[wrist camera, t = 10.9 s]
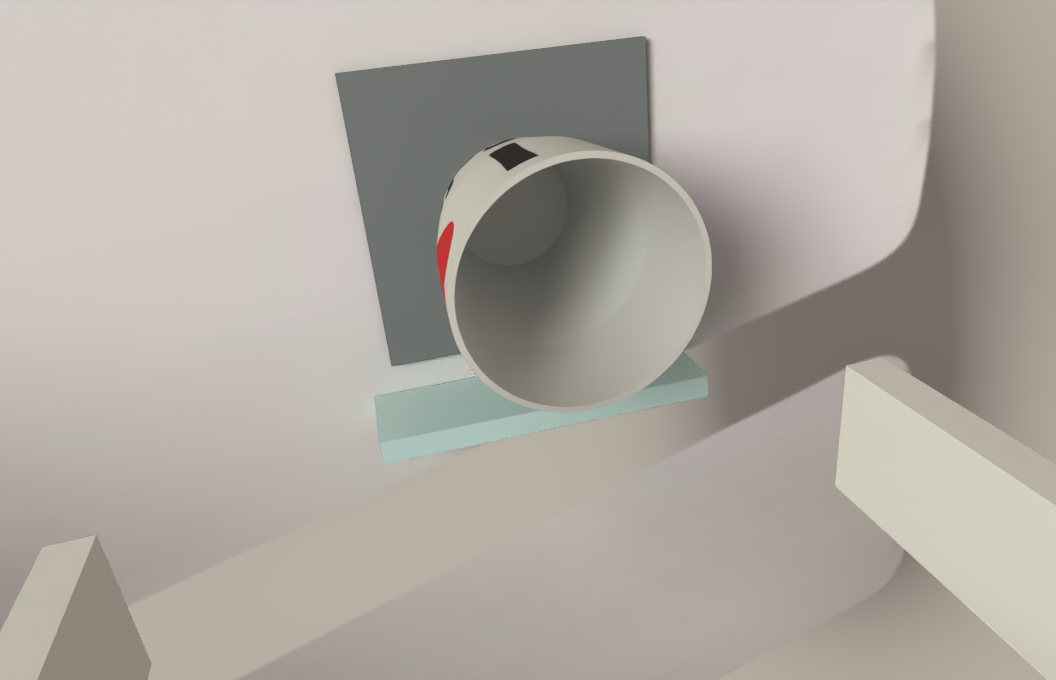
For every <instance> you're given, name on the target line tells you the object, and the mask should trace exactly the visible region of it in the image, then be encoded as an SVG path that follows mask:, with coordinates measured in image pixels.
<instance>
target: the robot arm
mask: <svg viewBox="0 0 1056 680" xmlns="http://www.w3.org/2000/svg"><path fill="white" fill-rule="evenodd" d="M835 486H836V487H837V488H838V489H839V490H840V491H841V492H842V493H844V494H845V495H846V496H847V497H848V498H849V499H850V500H851V501H852V502H853V503H855V504H856V505H857V506H858V507H859V508H860V509H861V510H862V511H863V512H864V513H865V514H867V515H868V516H869V517H870V518H871V519H872V520H873V521H874V522H875V523H876V524H877V525H879V526H880V527H881V528H882V529H883V530H884V531H885V532H886V533H887V534H888V535H890V536H891V537H892V538H893V539H894V540H895V541H896V542H897V543H898V544H899V545H900V546H902V547H903V548H904V549H905V550H906V551H907V552H908V553H909V554H910V555H911V556H913V557H914V558H915V559H916V560H917V561H918V562H919V563H920V564H921V565H922V566H923V567H925V568H926V569H927V570H928V571H929V572H930V573H931V574H932V575H933V576H934V577H936V578H937V579H938V580H939V581H940V582H941V583H942V584H943V585H944V586H945V587H946V588H948V589H949V590H950V591H951V592H952V593H953V594H954V595H955V596H956V597H958V599H960V600H961V601H962V602H963V603H964V604H965V605H966V606H967V607H968V608H969V609H971V610H972V611H973V612H974V613H975V614H976V615H977V616H978V617H979V618H980V619H981V620H983V621H984V622H985V623H986V624H987V625H988V626H989V627H990V628H991V629H992V630H993V631H995V632H996V633H997V634H998V635H999V636H1000V637H1001V638H1002V639H1003V640H1004V641H1006V642H1007V643H1008V644H1009V645H1010V646H1011V647H1012V648H1013V649H1014V650H1016V651H1017V652H1018V653H1019V654H1020V655H1021V656H1022V657H1023V658H1024V659H1025V660H1026V661H1028V663H1030V664H1031V665H1032V666H1033V667H1034V668H1035V669H1036V670H1037V671H1038V672H1039V673H1041V674H1042V675H1043V676H1044V677H1045V678H1046V679H1047V680H1056V464H1055V463H1053V462H1052V461H1050V460H1048V459H1047V458H1045V457H1043V456H1042V455H1040V454H1039V453H1037V452H1035V451H1034V450H1032V449H1030V448H1029V447H1027V446H1026V445H1024V444H1022V443H1021V442H1019V441H1017V440H1016V439H1014V438H1012V437H1011V436H1009V435H1008V434H1006V433H1004V432H1003V431H1001V430H999V429H998V428H996V427H994V426H993V425H991V424H990V423H988V422H986V421H985V420H983V419H981V418H980V417H978V416H977V415H975V414H973V413H972V412H970V411H969V410H967V409H965V408H964V407H962V406H960V405H959V404H957V403H956V402H954V401H952V400H951V399H949V398H947V397H946V396H944V395H942V394H941V393H939V392H938V391H936V390H934V389H933V388H931V387H929V386H928V385H926V384H925V383H923V382H921V381H920V380H918V379H916V378H915V377H913V376H912V375H910V374H908V373H907V372H905V371H903V370H902V369H900V368H898V367H897V366H895V365H894V364H892V363H890V362H889V361H887V360H885V359H884V358H882V357H881V358H877V359H873V360H868V361H864V362H859V363H855V364H850V365H846V374H845V385H844V396H843V407H842V417H841V428H840V439H839V450H838V460H837V471H836V482H835ZM150 667H151V661H150V659H149V657H148V654H147V652H146V650H145V647H144V645H143V643H142V640H141V638H140V636H139V633H138V631H137V629H136V627H135V624H134V622H133V619H132V617H131V615H130V612H129V610H128V608H127V605H126V603H125V601H124V598H123V596H122V594H121V591H120V589H119V587H118V584H117V582H116V580H115V577H114V575H113V573H112V570H111V568H110V566H109V563H108V561H107V559H106V556H105V554H104V552H103V549H102V547H101V545H100V542H99V540H98V538H97V535H94V536H89V537H85V538H80V539H76V540H71V541H67V542H63V543H58V544H54V545H49V546H45V547H42V549H41V551H40V553H39V555H38V557H37V559H36V561H35V563H34V565H33V567H32V569H31V571H30V573H29V575H28V577H27V579H26V581H25V583H24V585H23V587H22V589H21V591H20V593H19V595H18V597H17V599H16V601H15V603H14V605H13V607H12V609H11V611H10V613H9V615H8V617H7V619H6V621H5V623H4V625H3V627H2V629H1V631H0V680H147V679H148V675H149V671H150Z"/></svg>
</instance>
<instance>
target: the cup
mask: <svg viewBox="0 0 1056 680" xmlns="http://www.w3.org/2000/svg"><path fill="white" fill-rule="evenodd" d="M437 267H438V273H439V278H440V282H441V287H442V291H443V295H444V299H445V304H446V308H447V312H448V317H449V321H450V325H451V329H452V333H453V336H454V339H455V341H456V344H457V346H458V348H459V350H460V352H461V354H462V356H463V358H464V359H465V361H466V362H467V364H468V365H469V367H470V368H471V369H472V370H473V372H474V373H475V374H476V375H477V376H478V377H479V378H480V379H481V380H482V381H483V382H484V383H485V384H486V385H487V386H488V387H490V388H491V389H492V390H494V391H495V392H497V393H498V394H500V395H501V396H503V397H505V398H506V399H508V400H510V401H512V402H515V403H517V404H520V405H522V406H525V407H528V408H532V409H536V410H541V411H547V412H559V413H570V412H581V411H588V410H593V409H597V408H601V407H605V406H608V405H611V404H613V403H616V402H618V401H621V400H623V399H625V398H627V397H629V396H631V395H633V394H635V393H636V392H638V391H640V390H641V389H643V388H645V387H646V386H647V385H649V384H650V383H652V382H653V381H654V380H655V379H657V378H658V377H659V376H660V375H661V374H662V373H664V372H665V371H666V370H667V369H668V368H669V367H670V366H671V365H672V364H673V362H674V361H675V360H676V359H677V358H678V357H679V355H680V354H681V353H682V352H683V350H684V349H685V347H686V346H687V344H688V343H689V341H690V340H691V338H692V337H693V335H694V333H695V331H696V329H697V327H698V325H699V323H700V321H701V318H702V316H703V313H704V310H705V307H706V304H707V300H708V296H709V292H710V286H711V277H712V255H711V247H710V241H709V237H708V233H707V230H706V227H705V224H704V222H703V219H702V217H701V215H700V213H699V211H698V209H697V207H696V205H695V204H694V202H693V201H692V199H691V198H690V196H689V195H688V194H687V193H686V191H685V190H684V189H683V188H682V187H681V186H680V185H679V184H678V183H677V182H676V181H675V180H674V179H673V178H672V177H670V176H669V175H668V174H667V173H665V172H664V171H662V170H661V169H659V168H658V167H656V166H654V165H652V164H650V163H648V162H646V161H644V160H642V159H639V158H636V157H633V156H630V155H627V154H624V153H621V152H618V151H615V150H612V149H608V148H605V147H602V146H599V145H596V144H593V143H590V142H587V141H583V140H580V139H576V138H570V137H561V136H543V137H520V138H513V139H508V140H504V141H501V142H498V143H496V144H493V145H491V146H489V147H487V148H485V149H484V150H482V151H480V152H479V153H478V154H476V155H475V156H474V157H472V158H471V159H470V160H469V161H468V162H467V163H466V164H465V165H464V166H463V167H462V168H461V169H460V170H459V172H458V173H457V174H456V176H455V177H454V179H453V180H452V182H451V184H450V186H449V188H448V190H447V192H446V194H445V197H444V200H443V203H442V207H441V212H440V220H439V229H438V239H437Z"/></svg>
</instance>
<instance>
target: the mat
mask: <svg viewBox="0 0 1056 680" xmlns="http://www.w3.org/2000/svg"><path fill="white" fill-rule="evenodd" d="M335 75H336V80H337V86H338V91H339V96H340V101H341V106H342V112H343V117H344V122H345V127H346V132H347V137H348V143H349V148H350V153H351V158H352V163H353V168H354V174H355V179H356V184H357V189H358V194H359V199H360V205H361V210H362V215H363V220H364V225H365V230H366V236H367V241H368V246H369V251H370V256H371V262H372V267H373V272H374V277H375V282H376V287H377V293H378V298H379V303H380V308H381V313H382V318H383V324H384V329H385V334H386V339H387V344H388V349H389V355H390V360H391V365H392V366H396V365H402V364H407V363H412V362H418V361H423V360H428V359H433V358H439V357H444V356H449V355H455V354H460V353H461V352H460V350H459V348H458V346H457V344H456V341H455V339H454V336H453V333H452V329H451V325H450V321H449V317H448V312H447V308H446V304H445V299H444V295H443V291H442V287H441V282H440V278H439V273H438V267H437V239H438V229H439V220H440V212H441V207H442V203H443V200H444V197H445V194H446V192H447V190H448V188H449V186H450V184H451V182H452V180H453V179H454V177H455V176H456V174H457V173H458V172H459V170H460V169H461V168H462V167H463V166H464V165H465V164H466V163H467V162H468V161H469V160H470V159H471V158H472V157H474V156H475V155H476V154H478V153H479V152H480V151H482V150H484V149H485V148H487V147H489V146H491V145H493V144H496V143H498V142H501V141H504V140H508V139H513V138H520V137H543V136H561V137H570V138H576V139H580V140H583V141H587V142H590V143H593V144H596V145H599V146H602V147H605V148H608V149H612V150H615V151H618V152H621V153H624V154H627V155H630V156H633V157H636V158H639V159H642V160H644V161H646V162H648V163H649V144H648V108H647V72H646V37H643V36H641V37H633V38H625V39H616V40H608V41H600V42H591V43H583V44H575V45H567V46H558V47H550V48H542V49H533V50H525V51H517V52H509V53H500V54H492V55H484V56H475V57H467V58H459V59H451V60H442V61H434V62H426V63H417V64H409V65H401V66H393V67H384V68H376V69H368V70H359V71H351V72H343V73H335Z"/></svg>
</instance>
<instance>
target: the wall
mask: <svg viewBox="0 0 1056 680" xmlns="http://www.w3.org/2000/svg"><path fill="white" fill-rule="evenodd" d="M707 396H708V375H707V374H706V373H705V372H704V371H703V370H702V369H701V368H699V366H697V365H696V364H695V363H694V362H693V361H692V360H691V359H690V358H689V357H688V356H687V355H686V354H685V353H684V352H682V353H681V354H680V355H679V357H678V358H677V359H676V360H675V361H674V362H673V364H672V365H671V366H670V367H669V368H668V369H667V370H666V371H665V372H664V373H662V374H661V375H660V376H659V377H658V378H657V379H655V380H654V381H653V382H652V383H650V384H649V385H647V386H646V387H645V388H643V389H641V390H640V391H638V392H636V393H635V394H633V395H631V396H629V397H627V398H625V399H623V400H621V401H618V402H616V403H613V404H611V405H608V406H605V407H601V408H597V409H593V410H588V411H581V412H570V413H559V412H547V411H541V410H536V409H532V408H528V407H525V406H522V405H520V404H517V403H515V402H512V401H510V400H508V399H506V398H505V397H503V396H501V395H500V394H498V393H497V392H495V391H494V390H492V389H491V388H490V387H488V386H487V385H486V384H485V383H484V382H483V381H482V380H481V379H480V378H479V377H474V378H469V379H463V380H458V381H453V382H448V383H443V384H438V385H433V386H428V387H422V388H417V389H412V390H407V391H402V392H397V393H392V394H386V395H381V396H376V397H374V398H375V407H376V417H377V426H378V435H379V444H380V449H381V453H382V458H383V463H384V464H388V463H393V462H398V461H403V460H407V459H412V458H417V457H422V456H426V455H431V454H436V453H441V452H445V451H450V450H455V449H460V448H465V447H469V446H474V445H479V444H484V443H488V442H493V441H498V440H502V439H507V438H512V437H517V436H522V435H526V434H531V433H536V432H541V431H545V430H550V429H555V428H560V427H564V426H569V425H574V424H578V423H583V422H588V421H593V420H598V419H602V418H607V417H611V416H616V415H621V414H626V413H630V412H636V411H640V410H645V409H650V408H655V407H659V406H664V405H669V404H674V403H679V402H683V401H688V400H693V399H698V398H702V397H707Z"/></svg>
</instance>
